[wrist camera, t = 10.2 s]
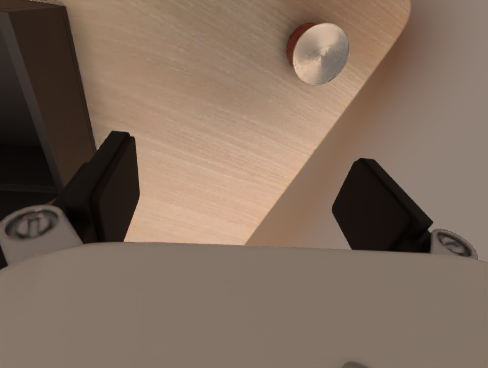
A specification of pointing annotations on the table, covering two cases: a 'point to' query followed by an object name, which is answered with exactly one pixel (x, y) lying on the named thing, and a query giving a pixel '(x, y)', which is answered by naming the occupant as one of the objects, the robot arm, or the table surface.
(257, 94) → the table surface
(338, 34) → the coffee pod
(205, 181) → the table surface
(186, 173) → the table surface
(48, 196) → the lid
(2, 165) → the open dark brown box
